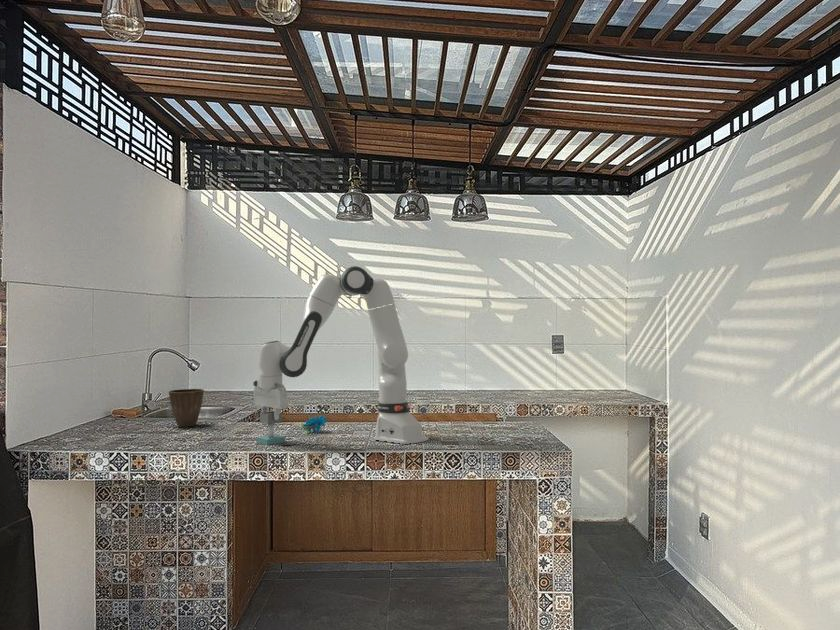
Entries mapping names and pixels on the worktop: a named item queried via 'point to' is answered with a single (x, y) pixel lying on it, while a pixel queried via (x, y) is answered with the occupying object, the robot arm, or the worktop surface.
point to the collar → (269, 418)
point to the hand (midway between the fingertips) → (270, 418)
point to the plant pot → (186, 405)
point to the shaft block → (270, 437)
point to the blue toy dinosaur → (314, 423)
